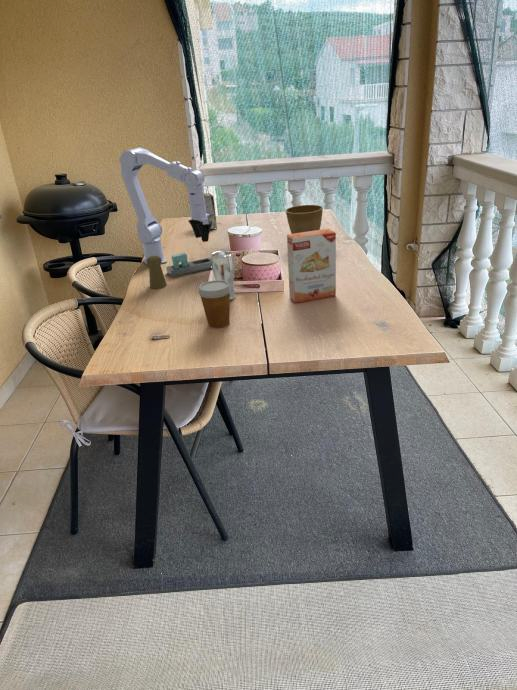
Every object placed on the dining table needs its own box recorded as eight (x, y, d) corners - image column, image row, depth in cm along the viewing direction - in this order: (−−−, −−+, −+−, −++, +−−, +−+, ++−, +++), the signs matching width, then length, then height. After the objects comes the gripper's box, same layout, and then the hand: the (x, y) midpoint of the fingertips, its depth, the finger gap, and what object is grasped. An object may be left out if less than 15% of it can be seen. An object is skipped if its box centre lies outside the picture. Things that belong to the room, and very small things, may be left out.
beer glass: (240, 294, 174) (235, 250, 167) (232, 302, 168) (227, 257, 161) (221, 293, 176) (215, 250, 169) (212, 300, 170) (207, 256, 163)
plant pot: (323, 241, 221) (322, 203, 214) (323, 251, 208) (322, 211, 201) (288, 243, 223) (286, 205, 216) (286, 253, 210) (284, 213, 202)
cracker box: (295, 304, 162) (292, 238, 153) (289, 297, 167) (285, 233, 158) (337, 296, 165) (336, 231, 155) (329, 290, 170) (328, 227, 161)
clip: (174, 273, 199) (171, 255, 196) (187, 270, 201) (184, 252, 198) (176, 274, 197) (173, 257, 194) (189, 271, 199) (186, 254, 196)
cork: (163, 288, 184) (158, 259, 179) (147, 289, 185) (141, 259, 180) (169, 282, 189) (164, 253, 184) (153, 283, 191) (148, 254, 186)
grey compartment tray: (167, 273, 200) (166, 266, 199) (210, 263, 206) (210, 257, 205) (172, 277, 195) (170, 270, 194) (216, 267, 201) (215, 261, 200)
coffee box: (217, 229, 254) (213, 195, 247) (205, 231, 253) (200, 197, 245) (213, 225, 262) (209, 192, 255) (201, 227, 261) (196, 194, 253)
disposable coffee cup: (218, 314, 159) (213, 277, 154) (241, 321, 154) (237, 282, 148) (196, 326, 153) (190, 288, 148) (219, 333, 147) (214, 293, 142)
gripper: (214, 205, 191) (218, 241, 197) (200, 199, 203) (205, 233, 209) (196, 208, 189) (201, 244, 195) (183, 202, 200) (188, 237, 207)
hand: (202, 239), depth 202 cm, fingers open, 7 cm apart
